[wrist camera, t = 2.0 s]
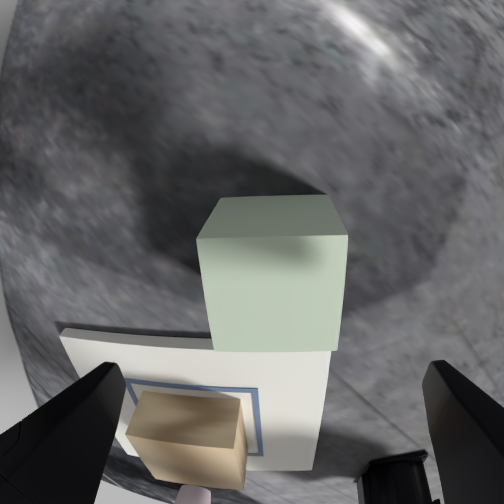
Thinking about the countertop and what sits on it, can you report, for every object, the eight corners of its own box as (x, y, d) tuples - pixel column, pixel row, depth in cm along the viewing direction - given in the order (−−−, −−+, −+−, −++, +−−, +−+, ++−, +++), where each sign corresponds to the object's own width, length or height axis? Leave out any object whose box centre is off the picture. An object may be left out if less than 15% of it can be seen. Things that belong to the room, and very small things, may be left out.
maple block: (240, 398, 20) (233, 448, 16) (248, 448, 23) (243, 489, 19) (142, 390, 20) (124, 434, 17) (166, 441, 23) (155, 478, 20)
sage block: (327, 194, 15) (348, 235, 10) (324, 286, 17) (337, 350, 12) (221, 197, 15) (196, 238, 11) (230, 288, 17) (214, 351, 13)
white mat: (329, 337, 18) (331, 350, 17) (311, 461, 25) (311, 471, 24) (65, 327, 20) (58, 336, 19) (130, 446, 27) (127, 455, 26)
